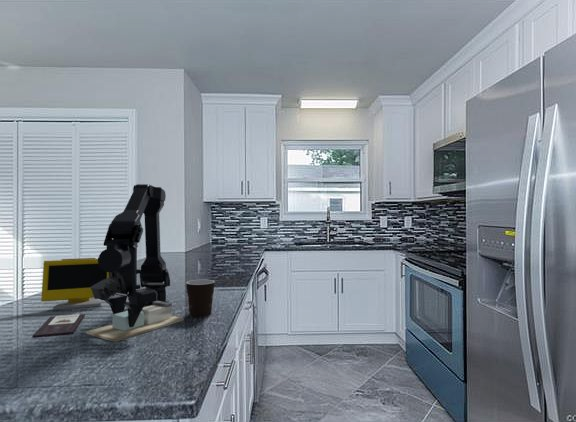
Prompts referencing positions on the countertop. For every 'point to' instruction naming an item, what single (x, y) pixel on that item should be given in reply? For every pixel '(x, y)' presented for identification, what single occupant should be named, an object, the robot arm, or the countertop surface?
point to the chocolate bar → (59, 325)
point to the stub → (125, 321)
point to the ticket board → (153, 319)
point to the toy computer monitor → (71, 282)
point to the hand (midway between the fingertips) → (125, 325)
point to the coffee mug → (200, 297)
